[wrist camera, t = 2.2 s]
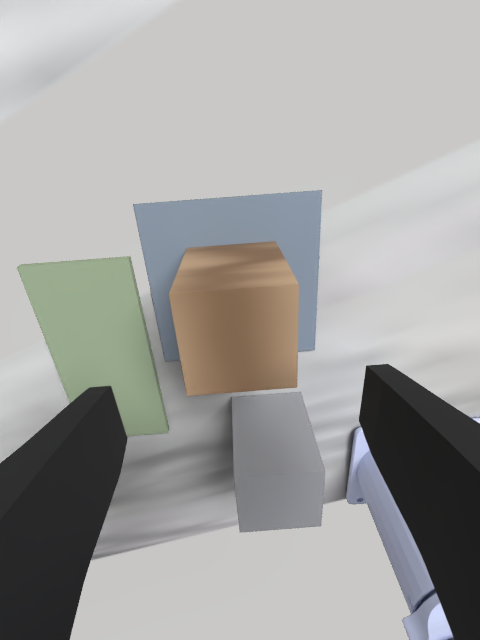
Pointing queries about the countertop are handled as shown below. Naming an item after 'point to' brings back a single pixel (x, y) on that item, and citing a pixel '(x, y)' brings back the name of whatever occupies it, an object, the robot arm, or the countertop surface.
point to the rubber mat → (98, 334)
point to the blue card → (225, 229)
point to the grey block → (276, 463)
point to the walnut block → (236, 318)
